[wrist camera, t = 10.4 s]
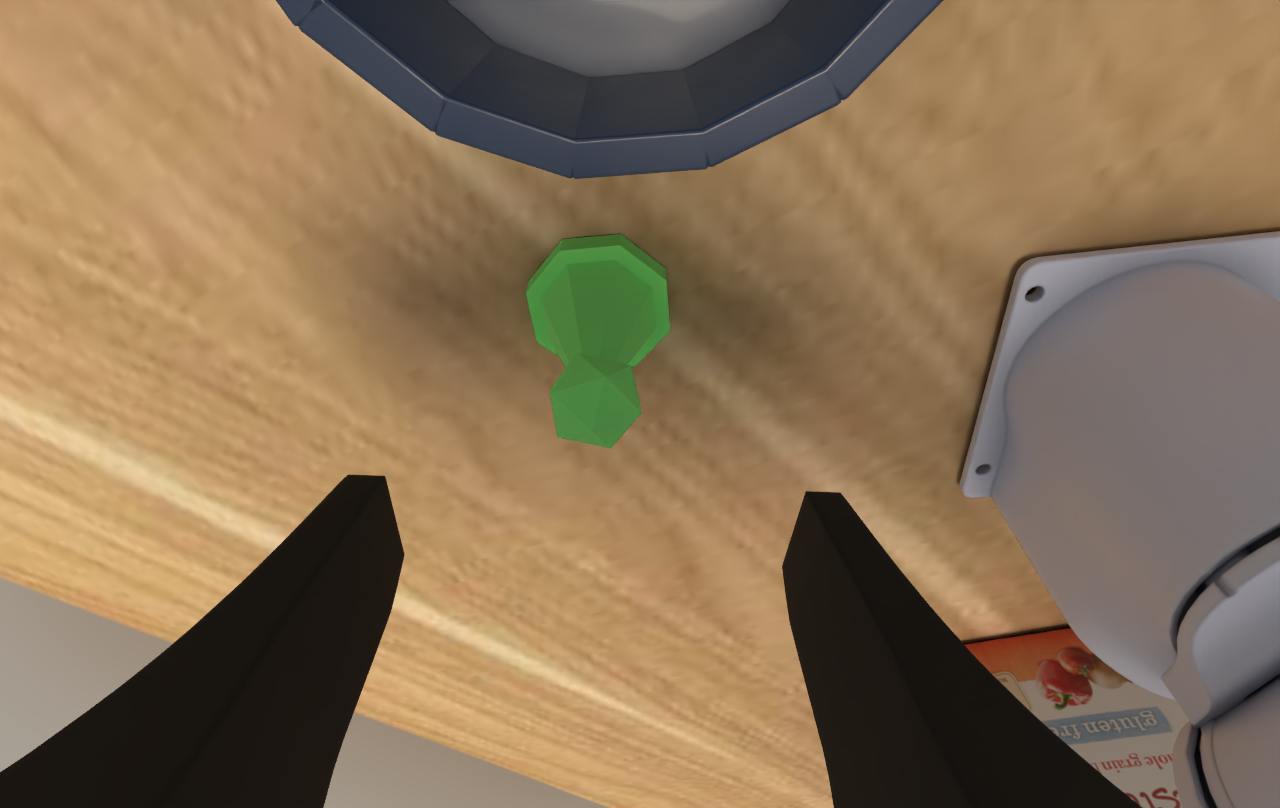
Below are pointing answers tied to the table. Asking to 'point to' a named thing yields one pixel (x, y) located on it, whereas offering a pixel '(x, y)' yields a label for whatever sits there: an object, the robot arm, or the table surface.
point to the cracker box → (1092, 710)
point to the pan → (611, 71)
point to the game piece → (598, 330)
